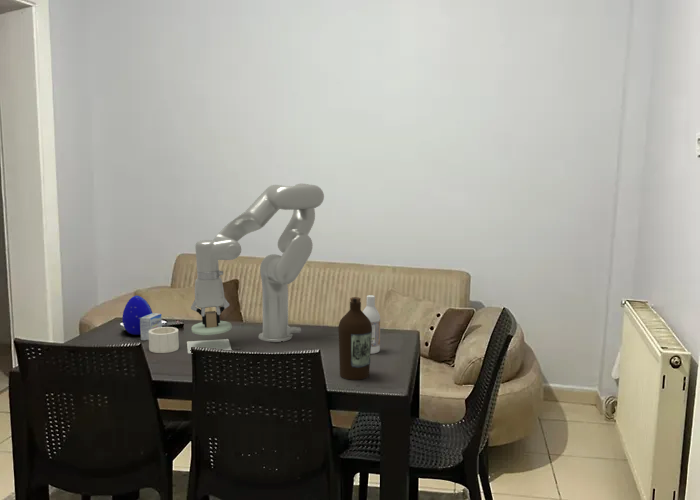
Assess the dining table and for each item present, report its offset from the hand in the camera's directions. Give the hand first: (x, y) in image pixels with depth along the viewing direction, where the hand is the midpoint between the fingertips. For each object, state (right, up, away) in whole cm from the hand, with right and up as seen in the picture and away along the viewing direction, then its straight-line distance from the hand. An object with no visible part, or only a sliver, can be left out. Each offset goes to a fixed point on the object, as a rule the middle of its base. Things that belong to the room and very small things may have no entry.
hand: (211, 325), depth 250 cm
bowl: (-16, -8, -3) cm, 18 cm away
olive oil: (+51, -13, -28) cm, 59 cm away
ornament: (-31, -5, +17) cm, 36 cm away
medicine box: (-25, -6, +12) cm, 28 cm away
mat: (-1, -8, +1) cm, 8 cm away
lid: (0, -1, 0) cm, 2 cm away
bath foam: (+56, -9, -2) cm, 57 cm away
